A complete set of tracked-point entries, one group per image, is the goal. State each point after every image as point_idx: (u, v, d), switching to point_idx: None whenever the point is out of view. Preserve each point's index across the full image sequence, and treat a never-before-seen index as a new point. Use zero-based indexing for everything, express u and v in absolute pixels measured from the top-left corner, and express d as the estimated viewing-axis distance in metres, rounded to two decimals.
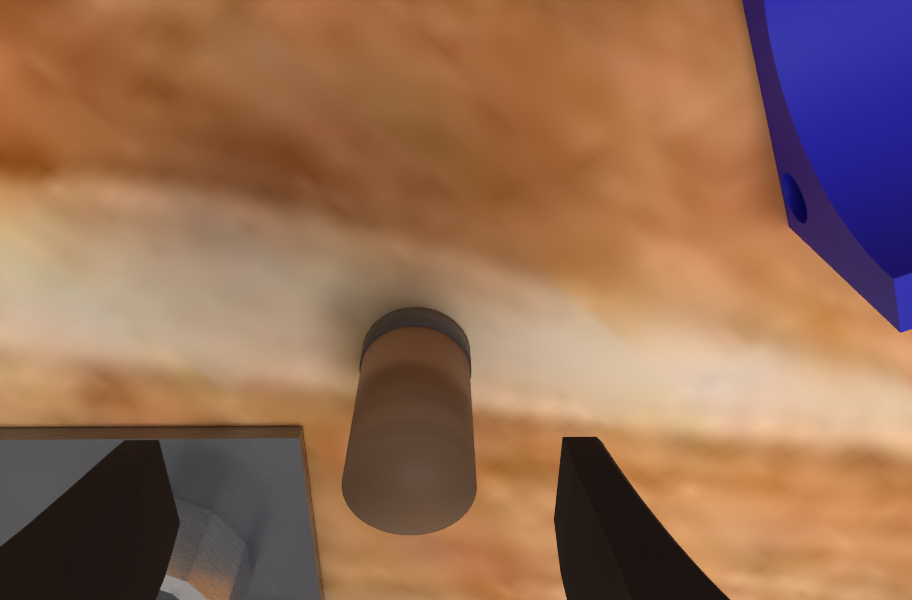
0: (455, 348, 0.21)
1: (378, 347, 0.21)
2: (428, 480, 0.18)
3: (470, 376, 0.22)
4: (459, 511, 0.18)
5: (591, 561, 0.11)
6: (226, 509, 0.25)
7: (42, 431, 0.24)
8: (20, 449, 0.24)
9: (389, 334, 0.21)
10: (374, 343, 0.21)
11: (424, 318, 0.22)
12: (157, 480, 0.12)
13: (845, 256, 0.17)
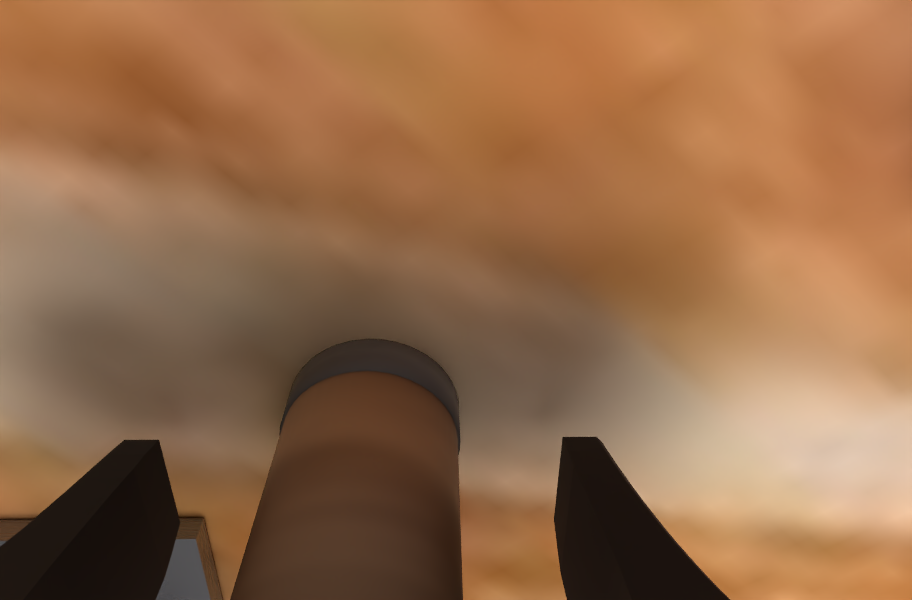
0: (433, 408, 0.13)
1: (303, 408, 0.13)
2: None
3: (459, 449, 0.14)
4: None
5: (591, 561, 0.11)
6: None
7: None
8: None
9: (324, 385, 0.13)
10: (300, 399, 0.13)
11: (382, 357, 0.13)
12: (157, 480, 0.12)
13: None
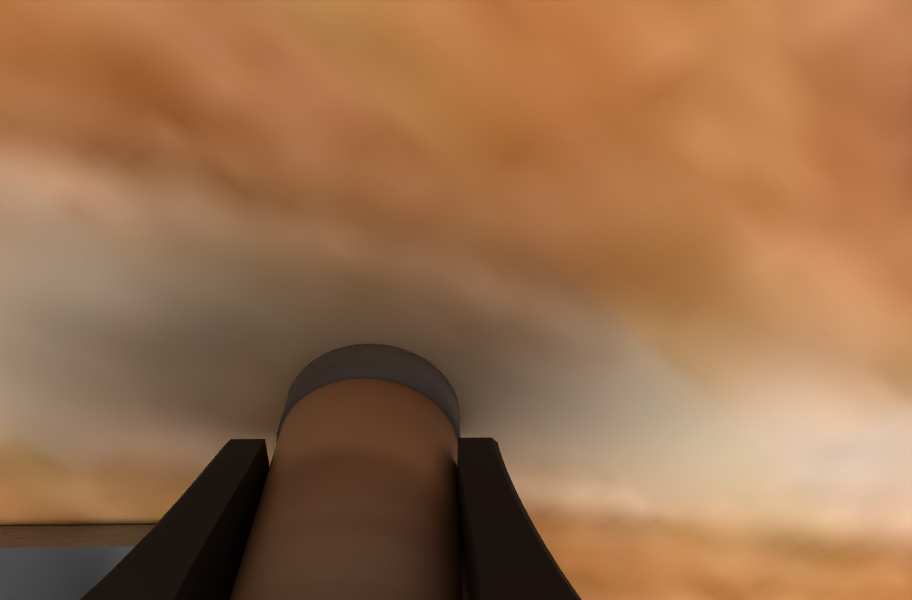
0: (433, 415, 0.13)
1: (300, 415, 0.12)
2: None
3: None
4: None
5: (468, 562, 0.10)
6: None
7: None
8: None
9: (321, 392, 0.13)
10: (297, 406, 0.13)
11: (381, 363, 0.13)
12: (264, 480, 0.12)
13: None
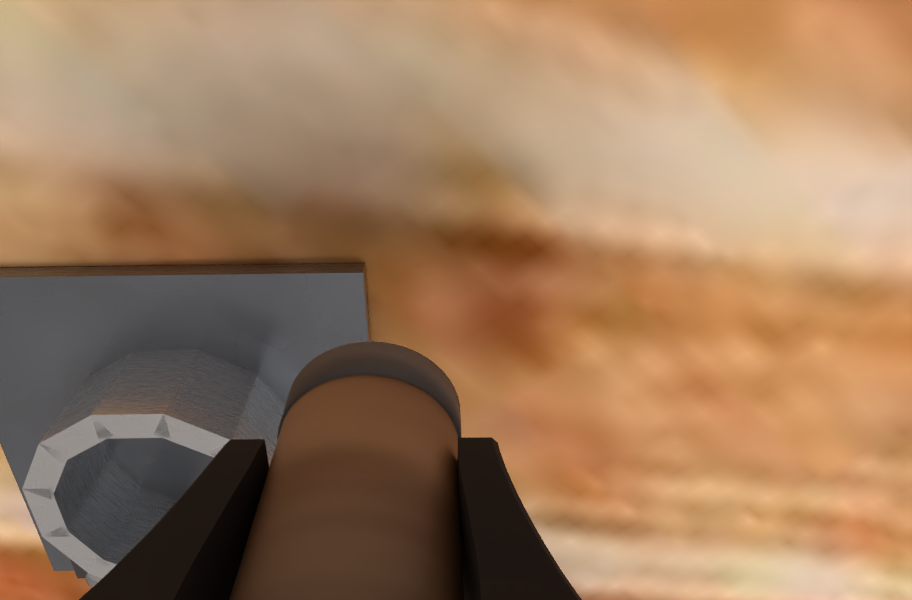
0: (434, 413, 0.13)
1: (302, 411, 0.12)
2: None
3: None
4: None
5: (468, 562, 0.10)
6: (273, 371, 0.21)
7: (53, 270, 0.20)
8: (28, 290, 0.20)
9: (322, 389, 0.13)
10: (299, 403, 0.13)
11: (383, 361, 0.13)
12: (263, 479, 0.12)
13: None
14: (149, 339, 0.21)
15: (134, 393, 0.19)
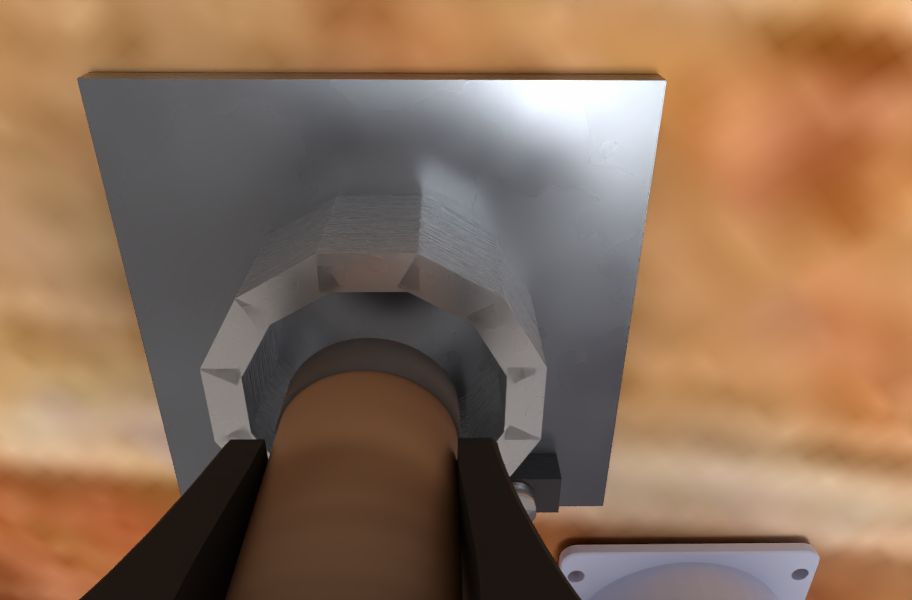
0: (436, 412, 0.13)
1: (304, 406, 0.12)
2: None
3: None
4: None
5: (468, 562, 0.10)
6: (515, 230, 0.16)
7: (241, 74, 0.15)
8: (208, 100, 0.15)
9: (325, 383, 0.12)
10: (300, 397, 0.13)
11: (386, 357, 0.13)
12: None
13: None
14: (360, 178, 0.15)
15: (363, 234, 0.14)
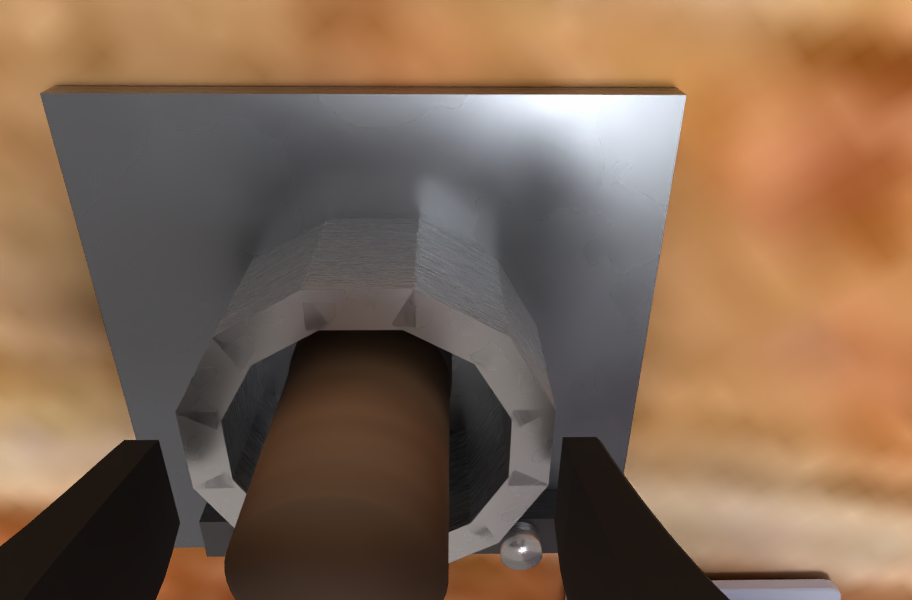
0: (431, 353, 0.14)
1: (314, 343, 0.14)
2: (369, 566, 0.11)
3: (450, 395, 0.15)
4: None
5: (591, 561, 0.11)
6: (520, 256, 0.15)
7: (221, 88, 0.13)
8: (184, 117, 0.13)
9: None
10: (311, 338, 0.14)
11: None
12: (157, 480, 0.12)
13: None
14: (351, 201, 0.14)
15: (354, 265, 0.13)
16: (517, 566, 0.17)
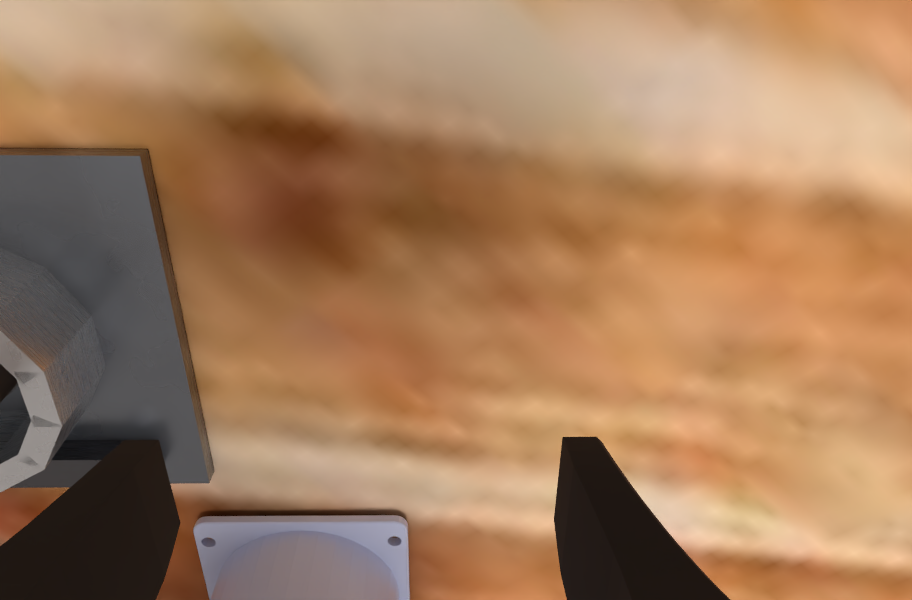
0: None
1: None
2: None
3: None
4: None
5: (591, 561, 0.11)
6: (62, 265, 0.21)
7: None
8: None
9: None
10: None
11: None
12: (157, 480, 0.12)
13: None
14: None
15: None
16: None
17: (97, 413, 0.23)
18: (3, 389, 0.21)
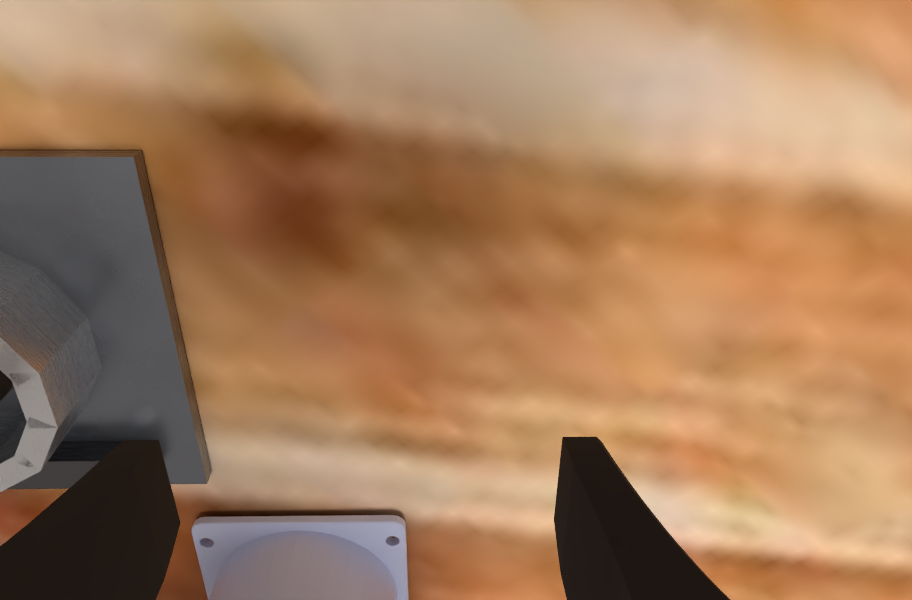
0: None
1: None
2: None
3: None
4: None
5: (591, 561, 0.11)
6: (57, 267, 0.21)
7: None
8: None
9: None
10: None
11: None
12: (157, 480, 0.12)
13: None
14: None
15: None
16: None
17: (94, 414, 0.24)
18: (0, 391, 0.21)
